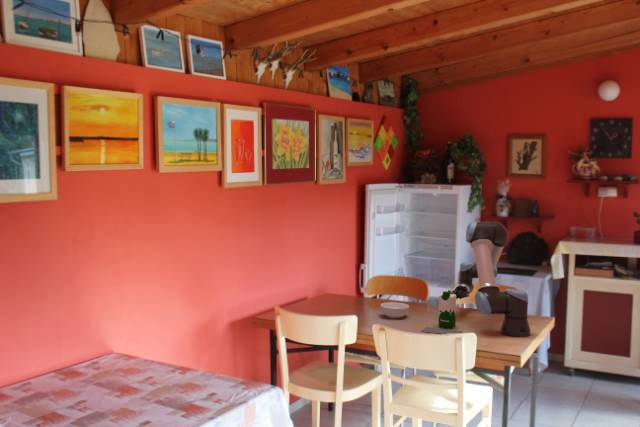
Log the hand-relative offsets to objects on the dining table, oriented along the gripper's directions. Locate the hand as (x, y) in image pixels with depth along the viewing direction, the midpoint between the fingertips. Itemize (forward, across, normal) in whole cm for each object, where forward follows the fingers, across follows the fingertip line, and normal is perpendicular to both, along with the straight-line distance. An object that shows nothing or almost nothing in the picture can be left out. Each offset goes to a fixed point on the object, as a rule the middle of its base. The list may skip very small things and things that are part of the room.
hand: (451, 298), depth 358 cm
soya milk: (+10, -1, -14) cm, 17 cm away
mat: (+21, -1, -14) cm, 25 cm away
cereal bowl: (+1, +33, -14) cm, 36 cm away
